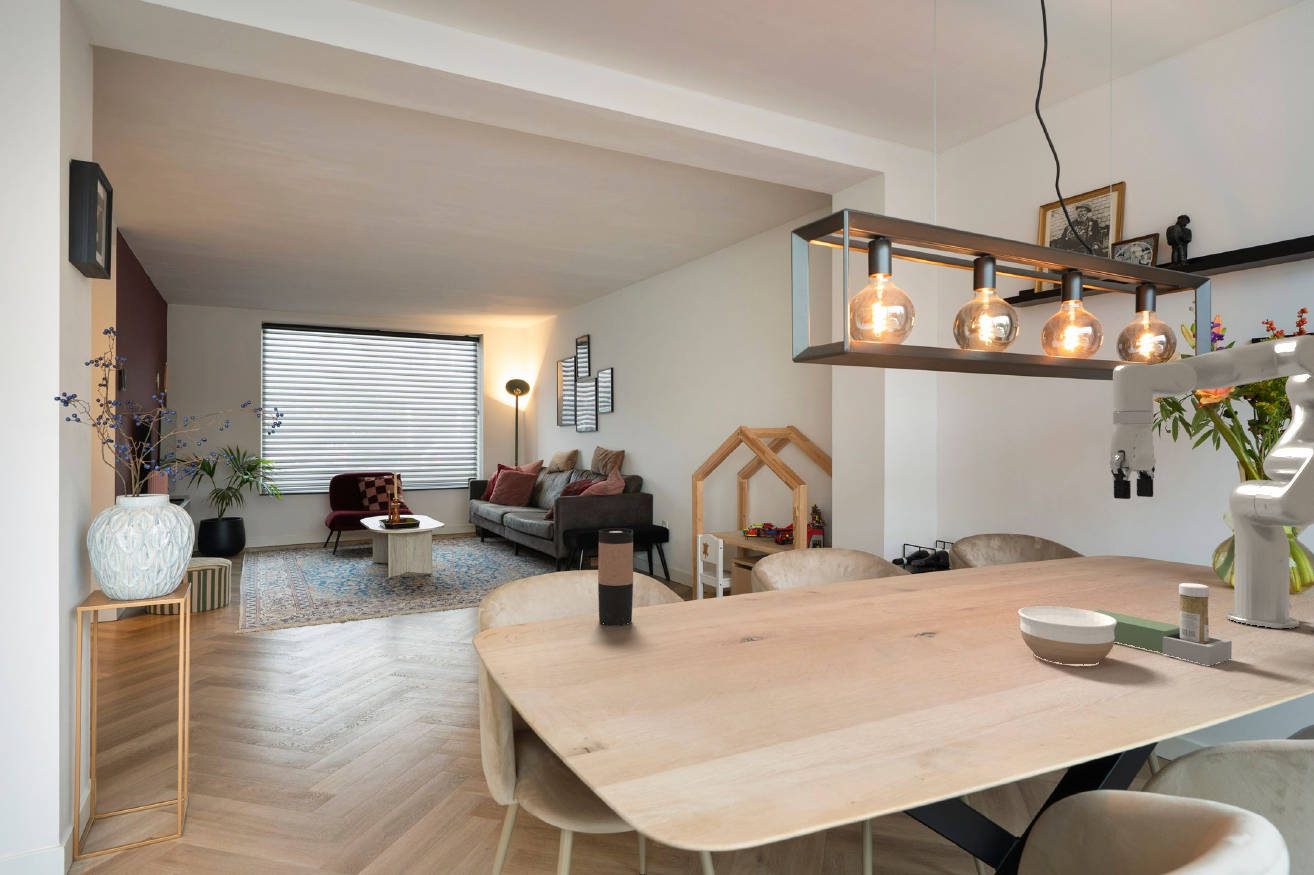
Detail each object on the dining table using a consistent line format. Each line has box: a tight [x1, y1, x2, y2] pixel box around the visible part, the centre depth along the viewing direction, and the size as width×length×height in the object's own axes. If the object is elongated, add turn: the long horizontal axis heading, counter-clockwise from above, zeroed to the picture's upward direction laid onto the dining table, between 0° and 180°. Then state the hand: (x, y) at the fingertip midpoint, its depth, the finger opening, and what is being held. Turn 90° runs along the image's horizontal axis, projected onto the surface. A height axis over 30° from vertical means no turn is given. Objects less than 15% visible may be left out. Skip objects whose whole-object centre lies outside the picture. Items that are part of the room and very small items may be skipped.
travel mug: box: [597, 528, 634, 626], centre depth 162 cm, size 8×8×20 cm
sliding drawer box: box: [1092, 609, 1233, 666], centre depth 144 cm, size 8×24×4 cm, turn 30°
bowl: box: [1017, 605, 1117, 665], centre depth 137 cm, size 16×16×8 cm
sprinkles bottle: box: [1178, 582, 1210, 645], centre depth 138 cm, size 5×5×14 cm
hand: (1133, 497), depth 163 cm, fingers open, 9 cm apart
